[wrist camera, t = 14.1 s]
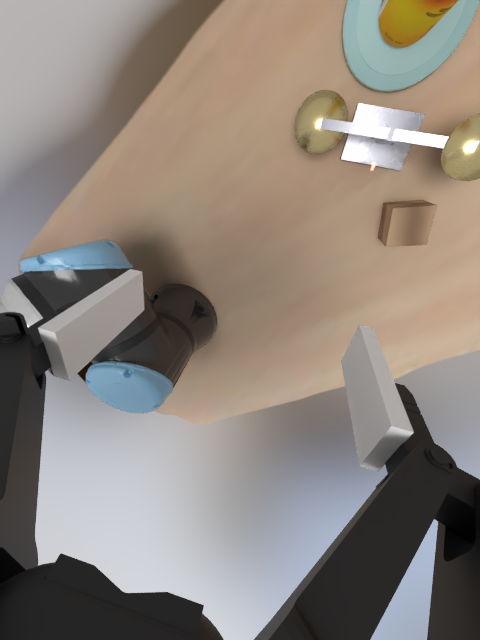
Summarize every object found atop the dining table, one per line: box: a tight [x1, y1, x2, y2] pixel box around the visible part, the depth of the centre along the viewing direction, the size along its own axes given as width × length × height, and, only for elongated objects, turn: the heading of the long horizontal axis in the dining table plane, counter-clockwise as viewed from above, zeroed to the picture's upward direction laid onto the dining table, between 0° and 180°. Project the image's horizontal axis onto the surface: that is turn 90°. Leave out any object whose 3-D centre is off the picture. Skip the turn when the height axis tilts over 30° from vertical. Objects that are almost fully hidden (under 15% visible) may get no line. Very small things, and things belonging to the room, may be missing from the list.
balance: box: [295, 90, 480, 181], centre depth 31 cm, size 22×7×9 cm, turn 81°
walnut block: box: [378, 200, 437, 246], centre depth 37 cm, size 5×5×5 cm
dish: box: [342, 0, 480, 92], centre depth 28 cm, size 13×13×1 cm
